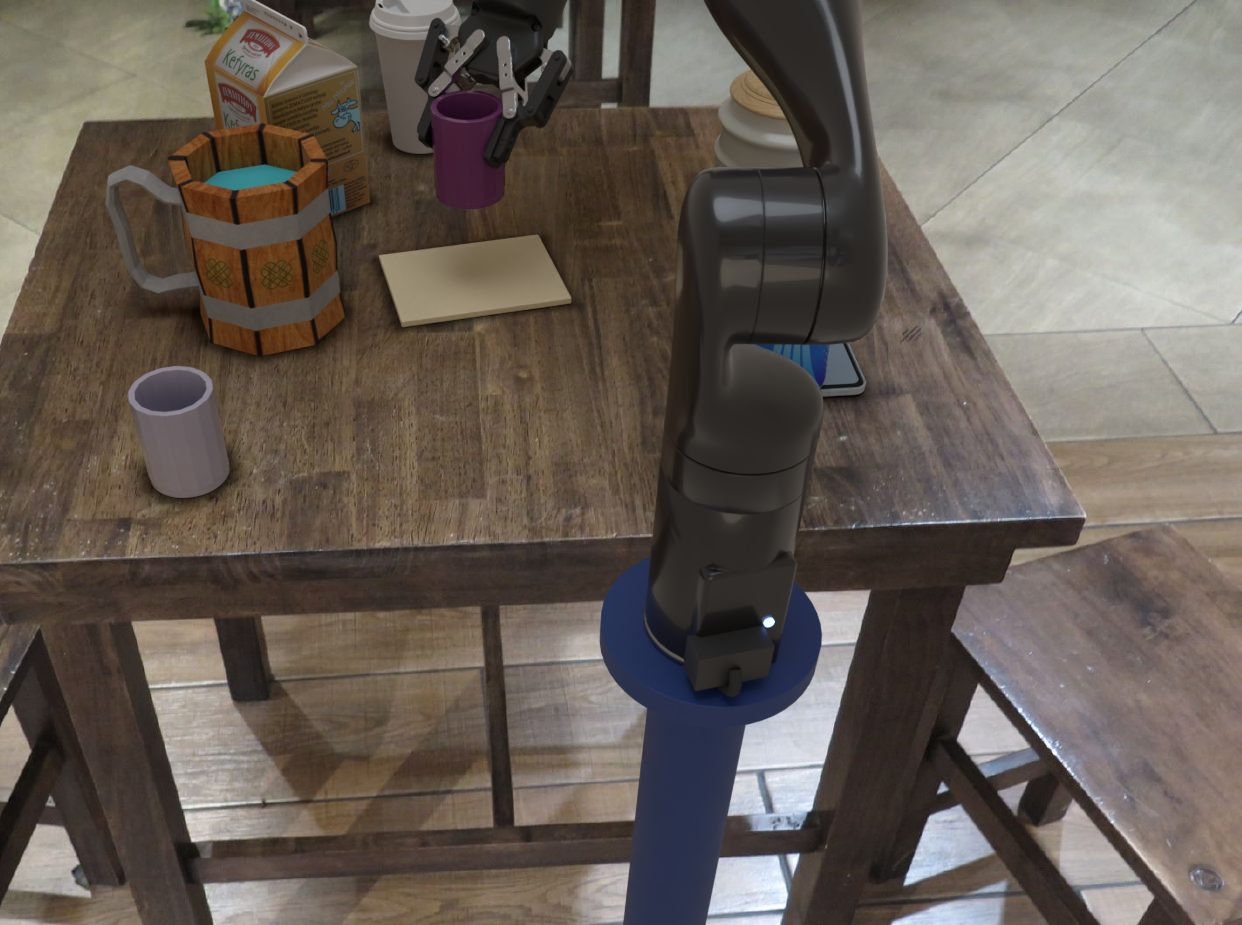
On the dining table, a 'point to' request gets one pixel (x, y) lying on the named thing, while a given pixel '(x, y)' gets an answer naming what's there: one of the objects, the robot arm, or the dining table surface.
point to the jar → (753, 128)
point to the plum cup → (465, 149)
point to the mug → (248, 236)
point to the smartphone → (842, 372)
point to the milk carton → (292, 93)
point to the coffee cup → (406, 61)
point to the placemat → (472, 280)
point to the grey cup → (179, 431)
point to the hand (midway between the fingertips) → (458, 154)
